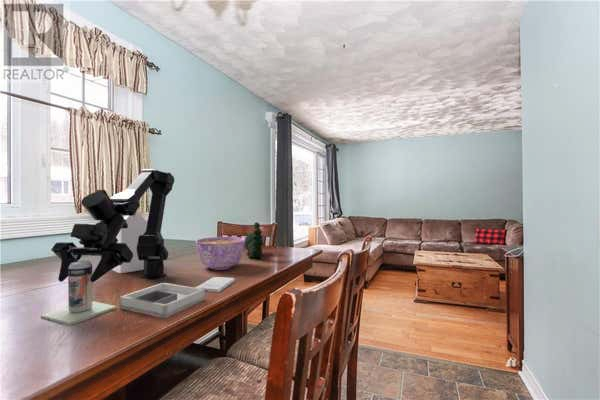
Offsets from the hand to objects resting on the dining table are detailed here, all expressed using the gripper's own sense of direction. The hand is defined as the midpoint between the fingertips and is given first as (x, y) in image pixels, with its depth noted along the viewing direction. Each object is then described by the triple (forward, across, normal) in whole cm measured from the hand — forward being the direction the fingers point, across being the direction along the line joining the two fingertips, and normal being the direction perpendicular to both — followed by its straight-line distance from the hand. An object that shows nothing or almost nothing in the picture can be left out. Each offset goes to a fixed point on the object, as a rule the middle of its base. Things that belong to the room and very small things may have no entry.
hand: (75, 281), depth 72 cm
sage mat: (+5, 0, +7) cm, 8 cm away
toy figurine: (-46, +31, +58) cm, 80 cm away
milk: (-27, -16, +39) cm, 50 cm away
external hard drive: (-12, +26, +25) cm, 38 cm away
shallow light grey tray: (0, +18, +12) cm, 21 cm away
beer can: (+4, 0, +7) cm, 8 cm away
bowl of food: (-29, +21, +42) cm, 55 cm away
